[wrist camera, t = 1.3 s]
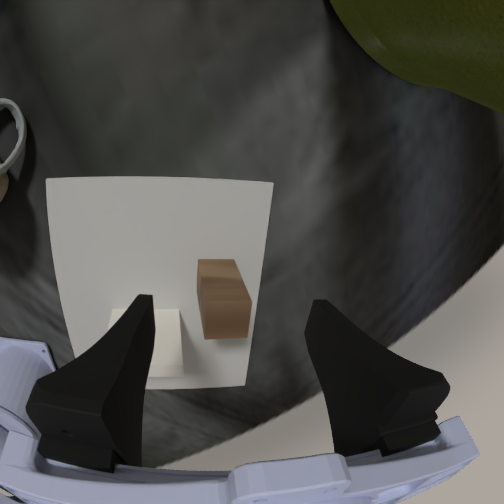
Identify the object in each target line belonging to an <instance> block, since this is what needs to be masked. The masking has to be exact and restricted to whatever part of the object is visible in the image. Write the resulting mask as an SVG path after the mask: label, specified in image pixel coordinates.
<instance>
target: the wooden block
mask: <svg viewBox="0 0 504 504" xmlns="http://www.w3.org/2000/svg"><path fill="white" fill-rule="evenodd" d="M197 297H198V304H199V310H200V316H201V322H202V328H203V334H204V340H209V339H234V338H247V337H248V330H249V323H250V316H251V308H252V300H251V298H250V295H249V293H248V291H247V288H246V286H245V284H244V281H243V279H242V277H241V274H240V272H239V269H238V267H237V265H236V262H235V260H234V259H198V267H197Z"/></svg>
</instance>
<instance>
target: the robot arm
mask: <svg viewBox="0 0 504 504" xmlns="http://www.w3.org/2000/svg"><path fill="white" fill-rule="evenodd" d="M155 332H156V327H155V317H154V305H153V295H148V294H139V295H137V297H136V298H135V299H134V301H133V302H132V303H131V305H130V306H129V307H128V308H127V310H126V311H125V312H124V313H123V315H122V316H121V317H120V318H119V319H118V321H117V322H116V323H115V324H114V325H113V326H112V327H111V328H110V329H109V330H108V331H107V332H106V334H105V335H104V336H103V337H101V338H100V339H99V340H98V341H97V342H96V343H95V344H94V345H93V346H92V347H90V348H89V349H88V350H87V351H85V352H84V353H83V354H81V355H80V356H79V357H77V358H76V359H74V360H73V361H71V362H70V363H68V364H66V365H65V366H63V367H61V368H59V369H58V370H56V368H55V365H54V363H53V360H52V357H51V354H50V351H49V348H48V346H47V344H46V343H44V342H36V341H27V340H18V339H11V338H3V337H0V488H2V489H4V490H5V491H7V492H9V493H10V494H12V495H14V496H11V497H9V496H5V495H3V494H1V493H0V504H396V503H398V502H401V501H403V500H405V499H408V498H410V497H412V496H414V495H416V494H418V493H421V492H423V491H425V490H427V489H429V488H431V487H433V486H435V485H437V484H439V483H441V482H443V481H445V480H447V479H449V478H451V477H452V476H453V475H455V474H456V473H457V472H459V471H460V470H461V469H463V468H464V467H465V466H466V465H468V464H469V463H470V462H471V461H472V460H474V459H475V458H476V457H477V456H478V455H479V454H480V452H479V450H478V449H477V447H476V445H475V443H474V441H473V439H472V438H471V436H470V434H469V432H468V430H467V429H466V427H465V425H464V423H463V422H462V420H461V418H460V416H456V417H453V418H451V419H448V420H446V421H444V422H441V423H440V424H439V425H437V424H436V422H435V420H436V419H437V417H438V416H437V414H436V413H435V411H436V410H437V409H438V407H439V406H440V405H441V404H442V402H443V401H444V400H445V398H446V397H447V396H448V394H449V391H450V385H449V383H448V382H447V381H446V379H445V377H444V376H443V374H442V373H441V372H438V371H435V370H432V369H429V368H426V367H423V366H420V365H418V364H416V363H413V362H411V361H409V360H407V359H405V358H403V357H401V356H399V355H397V354H395V353H393V352H392V351H390V350H388V349H387V348H385V347H384V346H382V345H381V344H379V343H378V342H376V341H375V340H373V339H372V338H371V337H369V336H368V335H367V334H365V333H364V332H363V331H362V330H360V329H359V328H358V327H357V326H356V325H354V324H353V323H352V322H351V321H350V320H349V319H348V318H346V317H345V316H344V315H343V314H342V313H341V312H340V311H339V310H338V309H337V308H335V307H334V306H333V305H332V304H331V303H330V302H328V301H327V300H314V301H313V305H312V308H311V312H310V315H309V318H308V322H307V325H306V329H305V332H304V333H305V338H306V343H307V348H308V352H309V355H310V357H311V360H312V363H313V366H314V368H315V371H316V374H317V376H318V379H319V382H320V384H321V387H322V390H323V393H324V396H325V401H326V405H327V409H328V414H329V419H330V424H331V430H332V437H333V443H334V451H335V453H326V454H319V455H312V456H306V457H298V458H290V459H281V460H270V461H260V462H253V463H247V464H244V465H241V466H238V467H236V468H235V469H234V470H232V471H185V470H184V471H183V470H166V469H154V468H144V467H142V457H141V447H142V417H143V403H144V394H145V388H146V383H147V378H148V374H149V369H150V364H151V360H152V355H153V351H154V342H155ZM44 350H45V351H44Z"/></svg>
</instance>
